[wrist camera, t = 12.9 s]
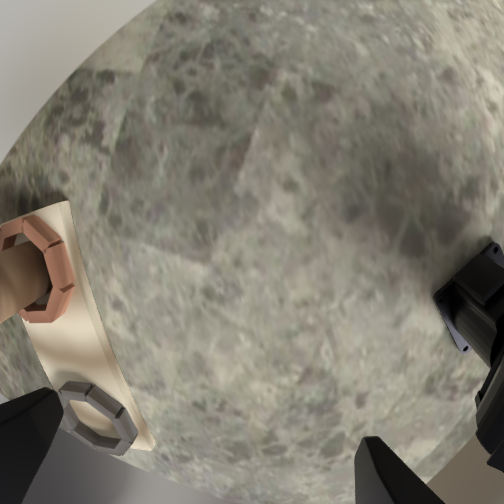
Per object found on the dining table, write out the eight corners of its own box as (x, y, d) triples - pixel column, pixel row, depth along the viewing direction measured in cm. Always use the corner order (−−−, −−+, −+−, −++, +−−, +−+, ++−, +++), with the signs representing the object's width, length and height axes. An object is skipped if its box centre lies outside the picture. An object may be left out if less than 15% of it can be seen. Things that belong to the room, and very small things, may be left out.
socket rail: (4, 223, 21) (-17, 229, 18) (68, 200, 20) (45, 205, 17) (88, 432, 26) (77, 448, 24) (155, 442, 25) (146, 461, 23)
